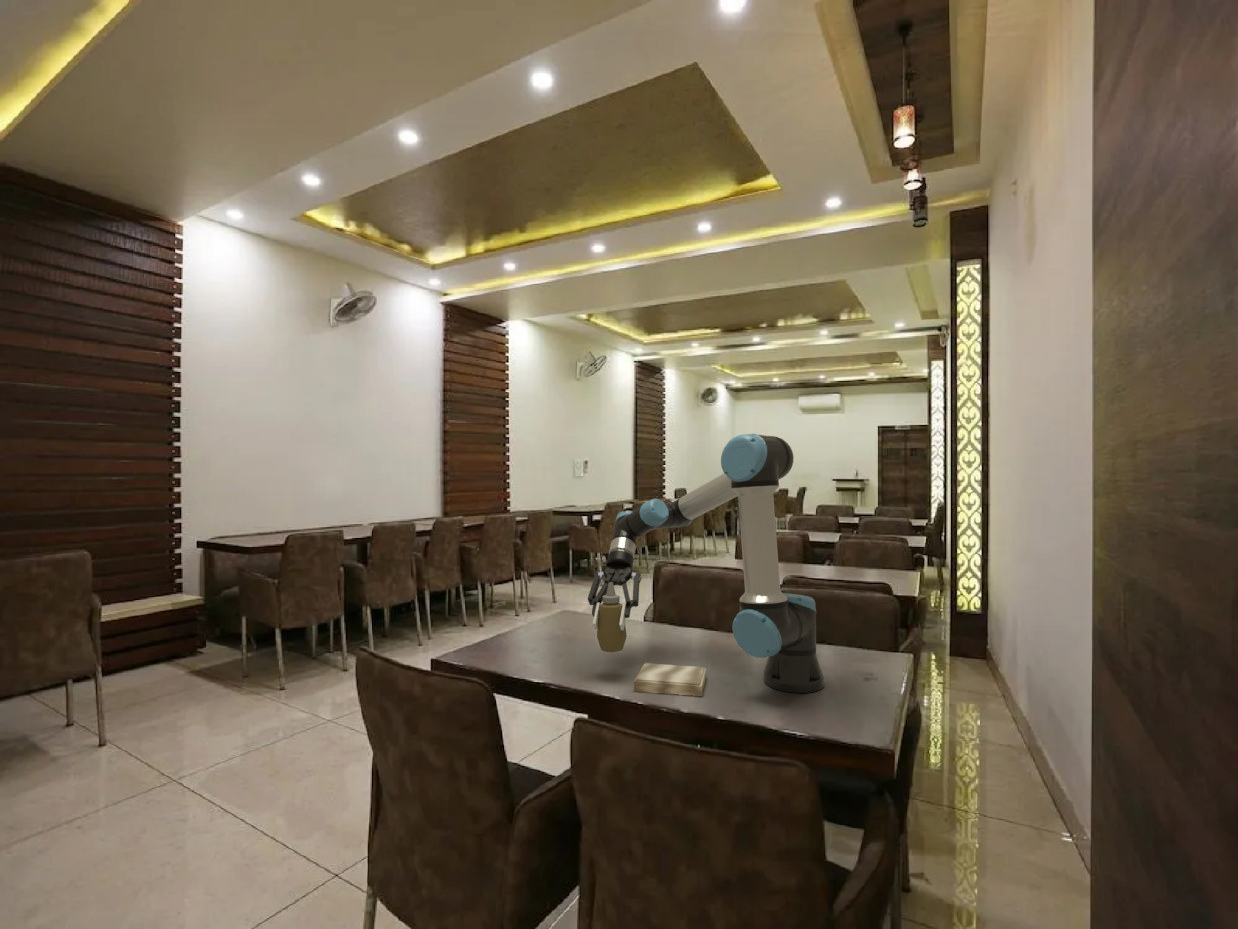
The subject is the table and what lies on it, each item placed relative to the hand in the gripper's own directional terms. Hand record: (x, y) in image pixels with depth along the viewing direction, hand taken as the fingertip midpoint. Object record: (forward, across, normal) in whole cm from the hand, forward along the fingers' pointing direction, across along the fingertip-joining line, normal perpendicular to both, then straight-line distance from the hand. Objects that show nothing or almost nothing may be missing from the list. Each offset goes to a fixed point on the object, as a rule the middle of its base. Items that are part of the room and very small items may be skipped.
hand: (608, 626), depth 154 cm
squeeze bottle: (+3, 0, -8) cm, 8 cm away
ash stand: (+9, -16, -12) cm, 22 cm away
